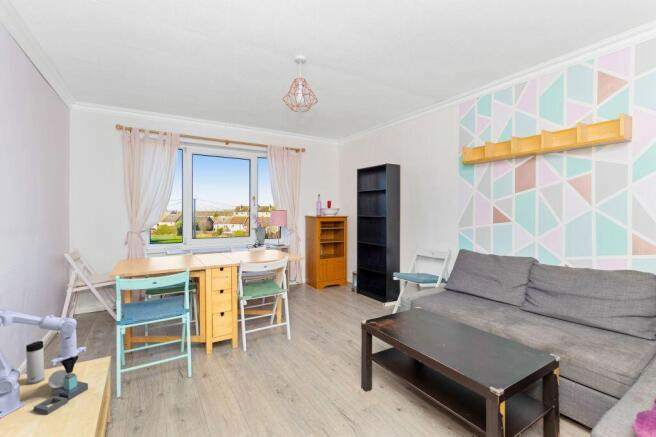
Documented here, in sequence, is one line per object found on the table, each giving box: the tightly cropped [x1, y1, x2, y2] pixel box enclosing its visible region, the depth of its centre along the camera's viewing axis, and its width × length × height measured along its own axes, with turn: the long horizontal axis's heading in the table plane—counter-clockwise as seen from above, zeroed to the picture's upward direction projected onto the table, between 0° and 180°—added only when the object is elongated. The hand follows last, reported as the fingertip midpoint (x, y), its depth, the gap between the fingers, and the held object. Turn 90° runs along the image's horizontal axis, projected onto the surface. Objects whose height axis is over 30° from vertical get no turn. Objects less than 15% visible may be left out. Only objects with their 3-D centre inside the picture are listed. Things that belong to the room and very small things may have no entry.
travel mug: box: [25, 340, 45, 385], centre depth 153 cm, size 6×7×20 cm
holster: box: [33, 395, 69, 415], centre depth 136 cm, size 8×8×2 cm
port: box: [51, 380, 89, 402], centre depth 145 cm, size 9×10×3 cm
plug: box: [63, 372, 78, 391], centre depth 145 cm, size 4×4×9 cm
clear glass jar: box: [47, 369, 70, 389], centre depth 149 cm, size 8×8×10 cm
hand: (69, 372), depth 145 cm, fingers closed
